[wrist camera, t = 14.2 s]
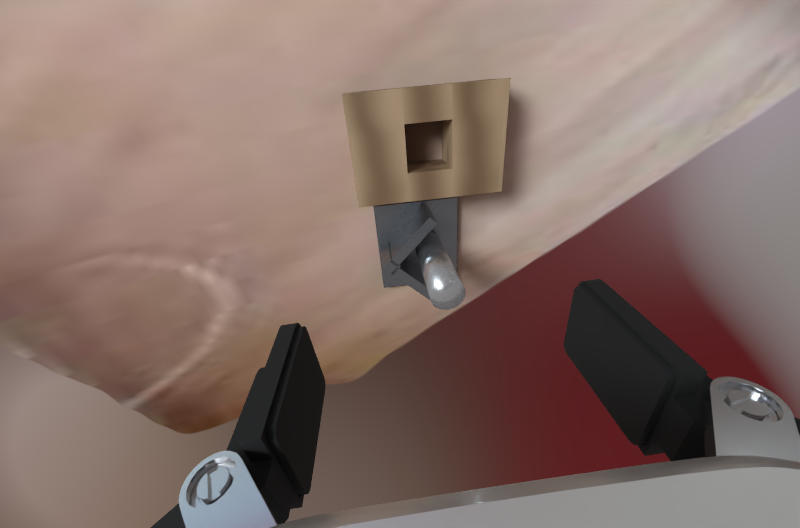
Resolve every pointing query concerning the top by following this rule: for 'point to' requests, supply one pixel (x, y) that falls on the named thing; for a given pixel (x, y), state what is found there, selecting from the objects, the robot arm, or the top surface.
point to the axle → (439, 273)
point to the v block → (413, 237)
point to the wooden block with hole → (461, 140)
